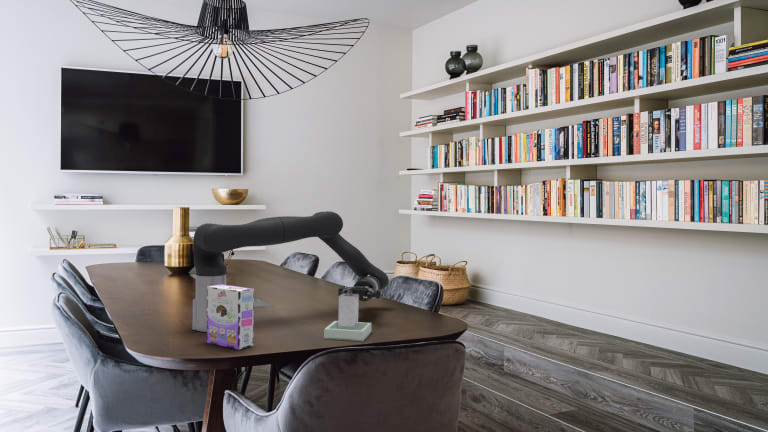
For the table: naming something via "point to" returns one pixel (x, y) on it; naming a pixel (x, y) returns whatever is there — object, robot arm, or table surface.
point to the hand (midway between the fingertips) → (355, 295)
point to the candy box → (230, 316)
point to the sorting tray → (347, 332)
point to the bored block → (348, 311)
